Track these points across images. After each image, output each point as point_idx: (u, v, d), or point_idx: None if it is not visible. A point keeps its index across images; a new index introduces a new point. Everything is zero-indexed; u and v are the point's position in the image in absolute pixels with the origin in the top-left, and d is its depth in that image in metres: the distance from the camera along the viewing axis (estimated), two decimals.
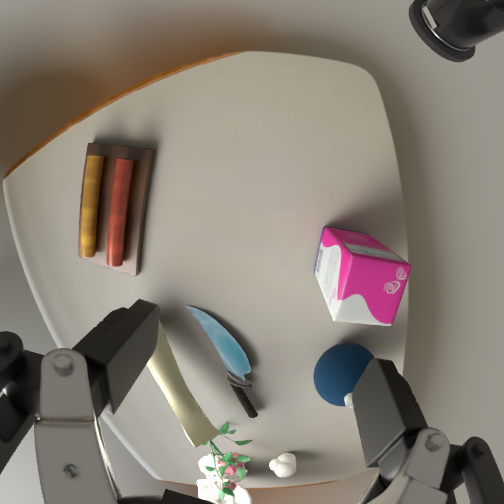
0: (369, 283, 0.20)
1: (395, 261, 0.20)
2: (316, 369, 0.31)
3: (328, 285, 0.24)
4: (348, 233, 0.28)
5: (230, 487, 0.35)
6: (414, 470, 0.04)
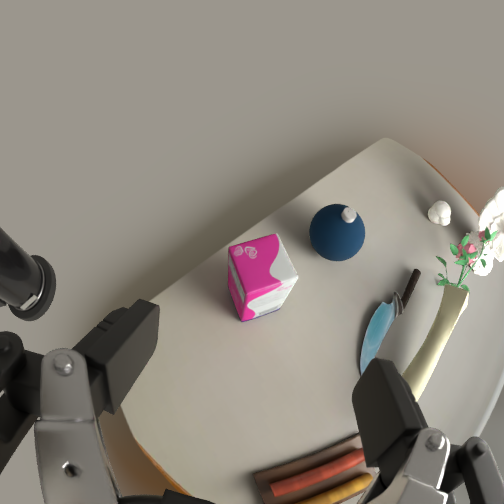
0: (258, 269, 0.28)
1: (232, 260, 0.28)
2: (347, 257, 0.38)
3: (278, 295, 0.31)
4: (235, 301, 0.35)
5: (483, 235, 0.37)
6: (414, 470, 0.04)
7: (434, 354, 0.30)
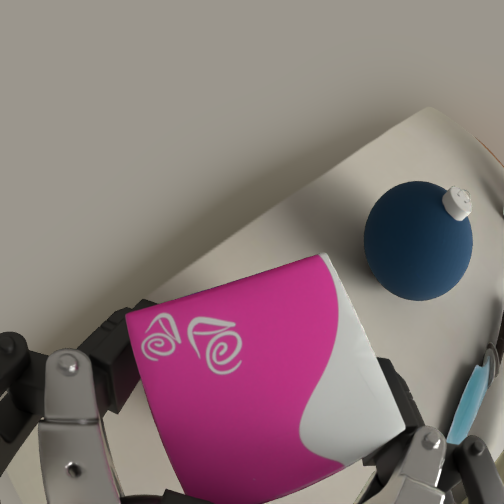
0: (246, 429, 0.05)
1: None
2: (441, 294, 0.15)
3: None
4: None
5: None
6: (411, 469, 0.04)
7: None
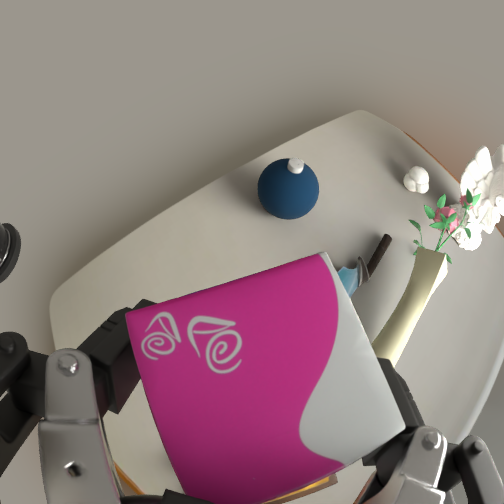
0: (246, 428, 0.05)
1: None
2: (297, 213, 0.35)
3: None
4: None
5: (466, 199, 0.34)
6: (411, 469, 0.04)
7: (404, 326, 0.28)
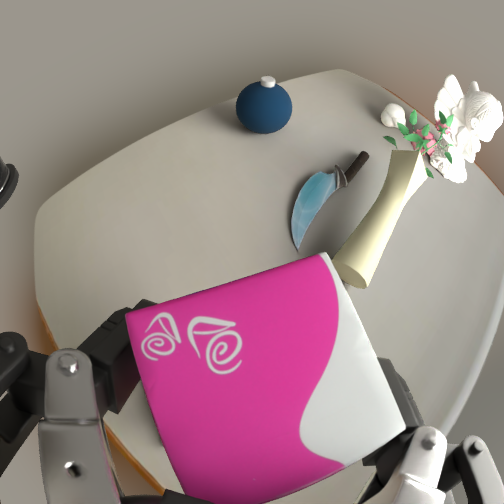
0: (247, 429, 0.05)
1: None
2: (272, 123, 0.35)
3: None
4: None
5: (440, 123, 0.35)
6: (411, 469, 0.04)
7: (385, 212, 0.28)
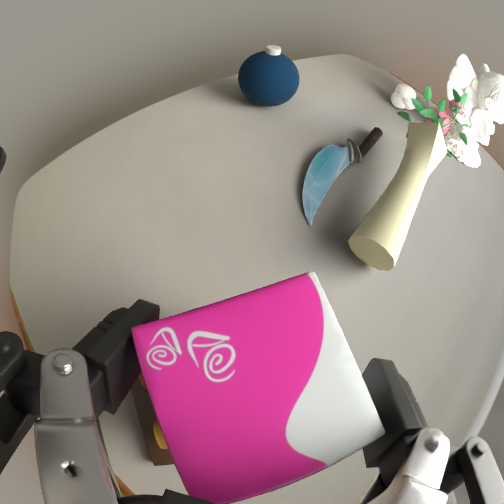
0: (239, 430, 0.06)
1: None
2: (278, 92, 0.30)
3: None
4: None
5: (454, 102, 0.30)
6: (414, 470, 0.04)
7: (409, 182, 0.23)
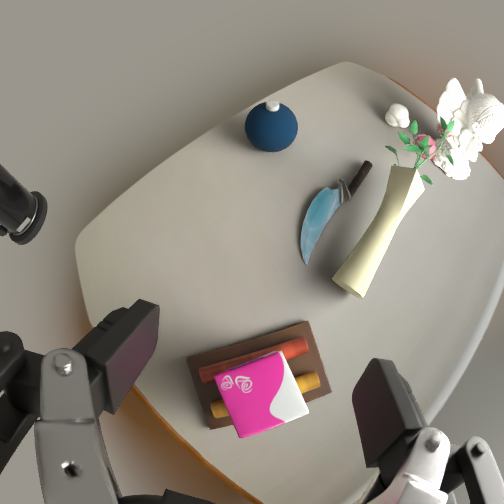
0: (254, 408, 0.18)
1: (220, 393, 0.19)
2: (279, 144, 0.39)
3: None
4: None
5: (442, 127, 0.35)
6: (414, 470, 0.04)
7: (381, 232, 0.32)
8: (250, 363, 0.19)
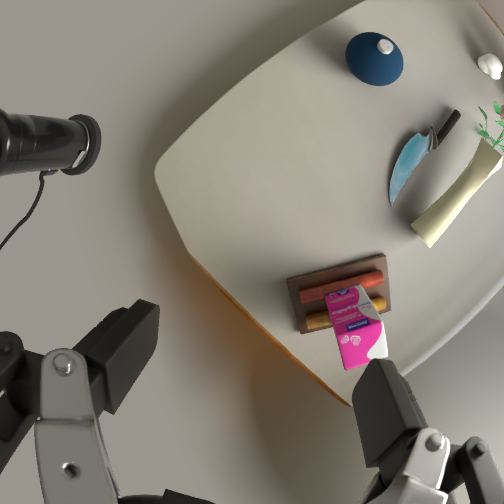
0: (358, 353, 0.29)
1: (338, 344, 0.29)
2: (383, 84, 0.29)
3: None
4: None
5: None
6: (414, 470, 0.04)
7: (458, 202, 0.30)
8: (361, 327, 0.28)
